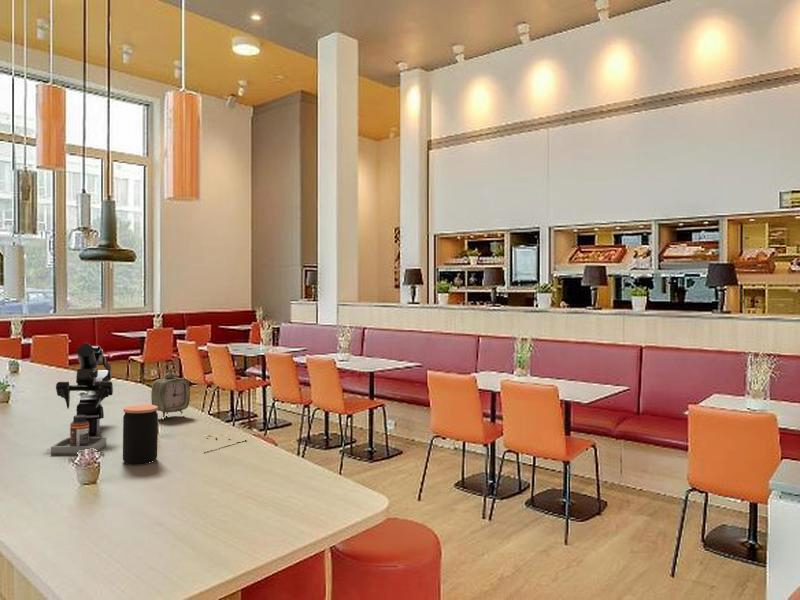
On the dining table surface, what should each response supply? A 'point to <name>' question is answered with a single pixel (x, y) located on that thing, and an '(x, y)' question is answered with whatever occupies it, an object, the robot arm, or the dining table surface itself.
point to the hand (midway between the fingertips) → (81, 407)
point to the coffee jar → (140, 434)
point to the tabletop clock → (170, 392)
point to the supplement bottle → (79, 431)
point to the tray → (66, 449)
